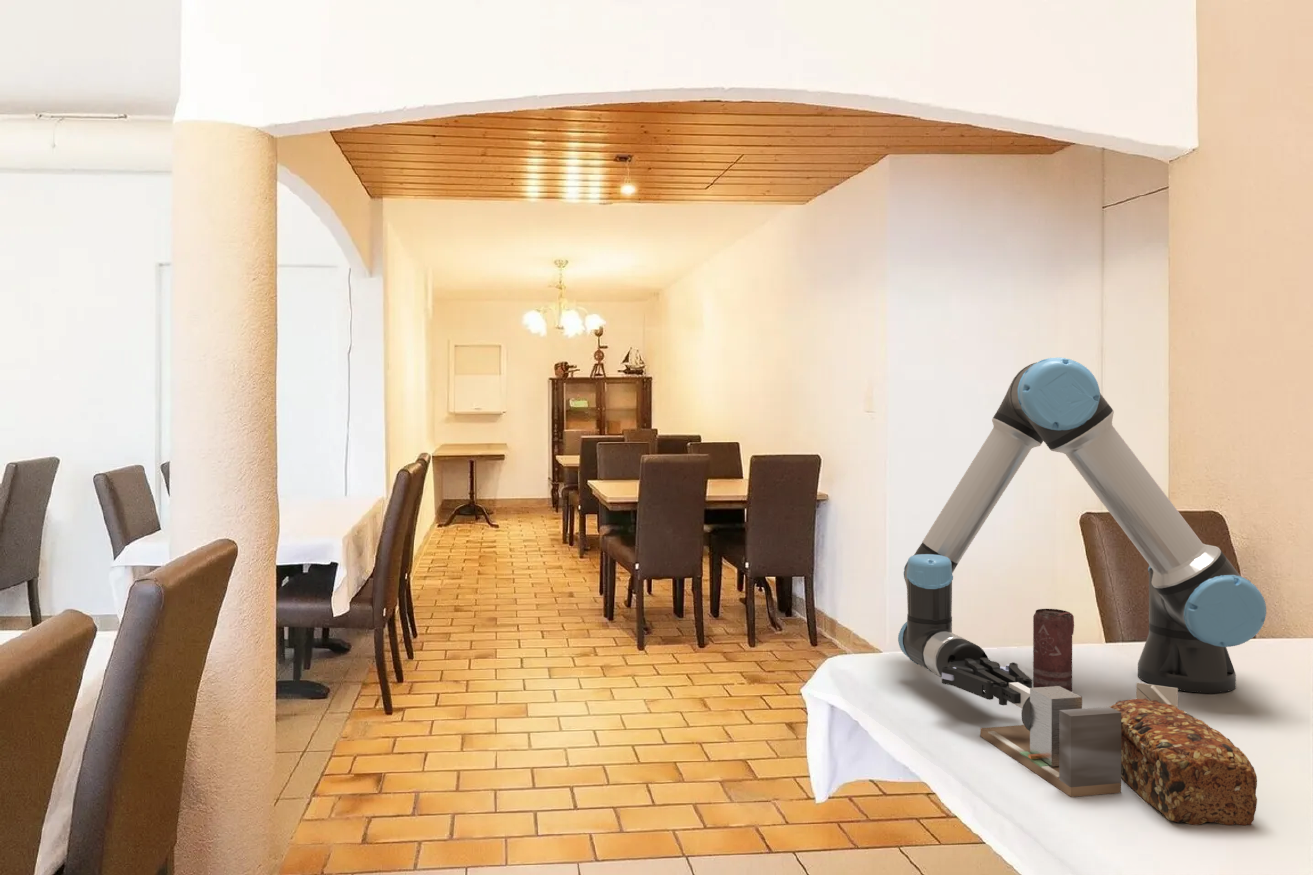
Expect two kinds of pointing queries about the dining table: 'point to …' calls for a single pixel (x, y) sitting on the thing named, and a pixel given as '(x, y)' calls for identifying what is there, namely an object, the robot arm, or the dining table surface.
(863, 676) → the dining table surface
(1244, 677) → the dining table surface
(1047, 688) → the brushed steel block
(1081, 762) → the gauge body
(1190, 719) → the bread
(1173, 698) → the architectural model
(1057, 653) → the can
